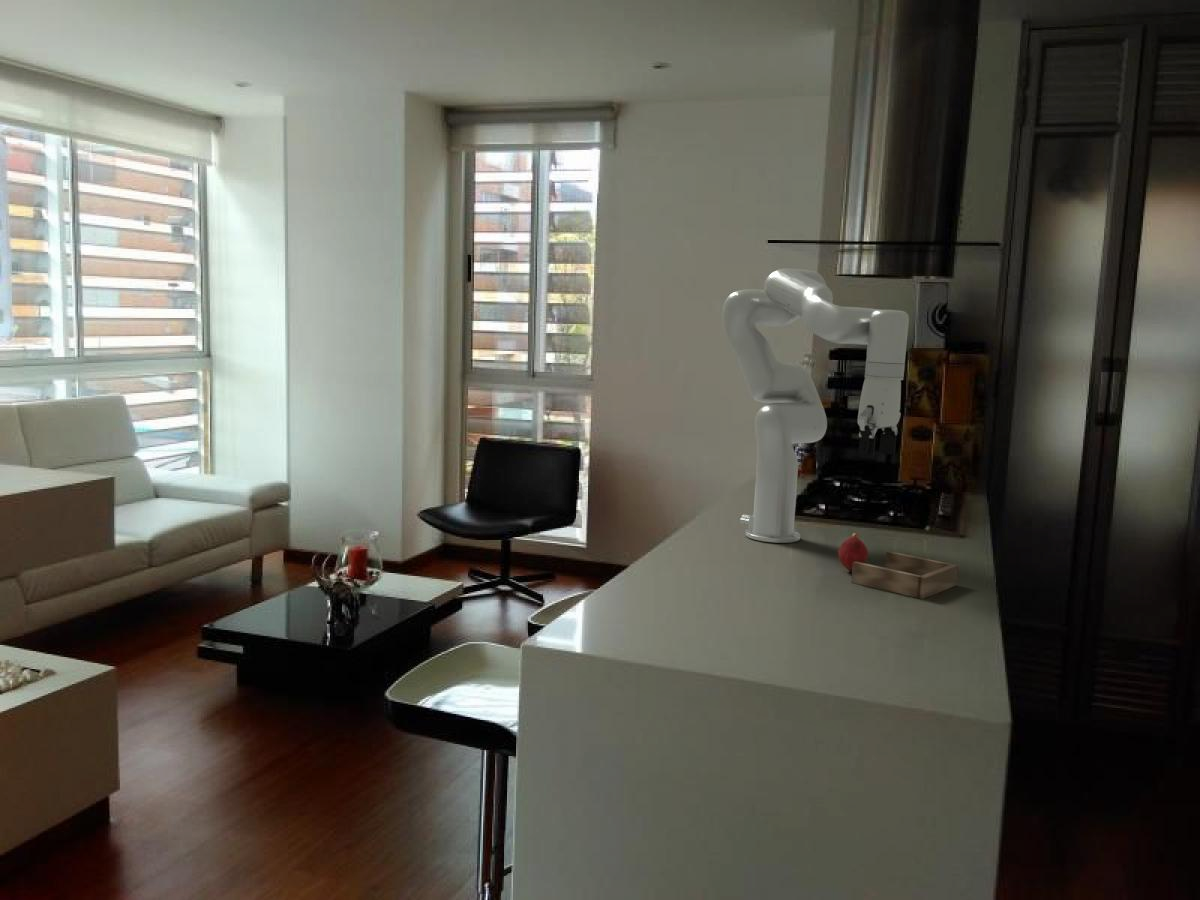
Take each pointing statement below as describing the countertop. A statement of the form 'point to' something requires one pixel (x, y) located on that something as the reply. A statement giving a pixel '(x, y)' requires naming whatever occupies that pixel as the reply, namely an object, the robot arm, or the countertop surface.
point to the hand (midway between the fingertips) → (876, 455)
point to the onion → (852, 552)
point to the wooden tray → (907, 575)
